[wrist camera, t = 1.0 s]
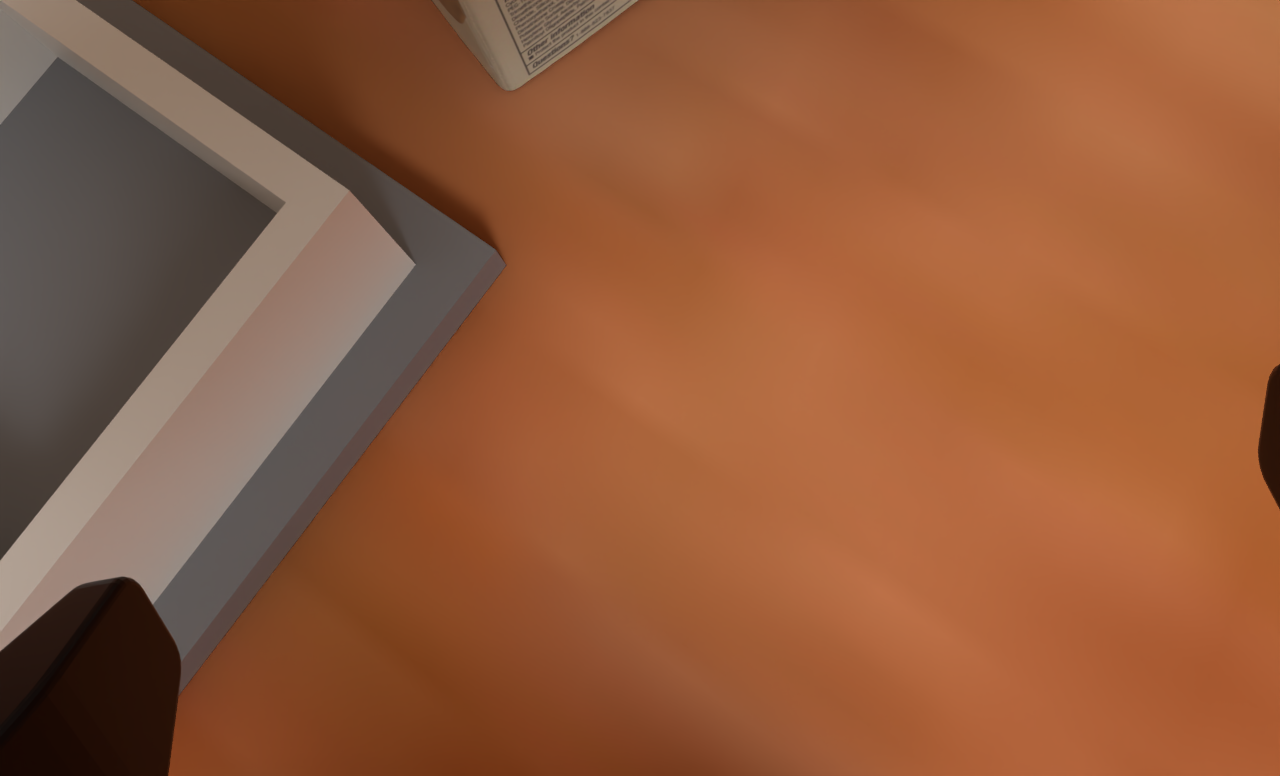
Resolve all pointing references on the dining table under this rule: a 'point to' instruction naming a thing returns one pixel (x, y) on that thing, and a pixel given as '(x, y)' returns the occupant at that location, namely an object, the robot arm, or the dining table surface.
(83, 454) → the holder
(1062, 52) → the dining table surface
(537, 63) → the skincare box
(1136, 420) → the dining table surface
